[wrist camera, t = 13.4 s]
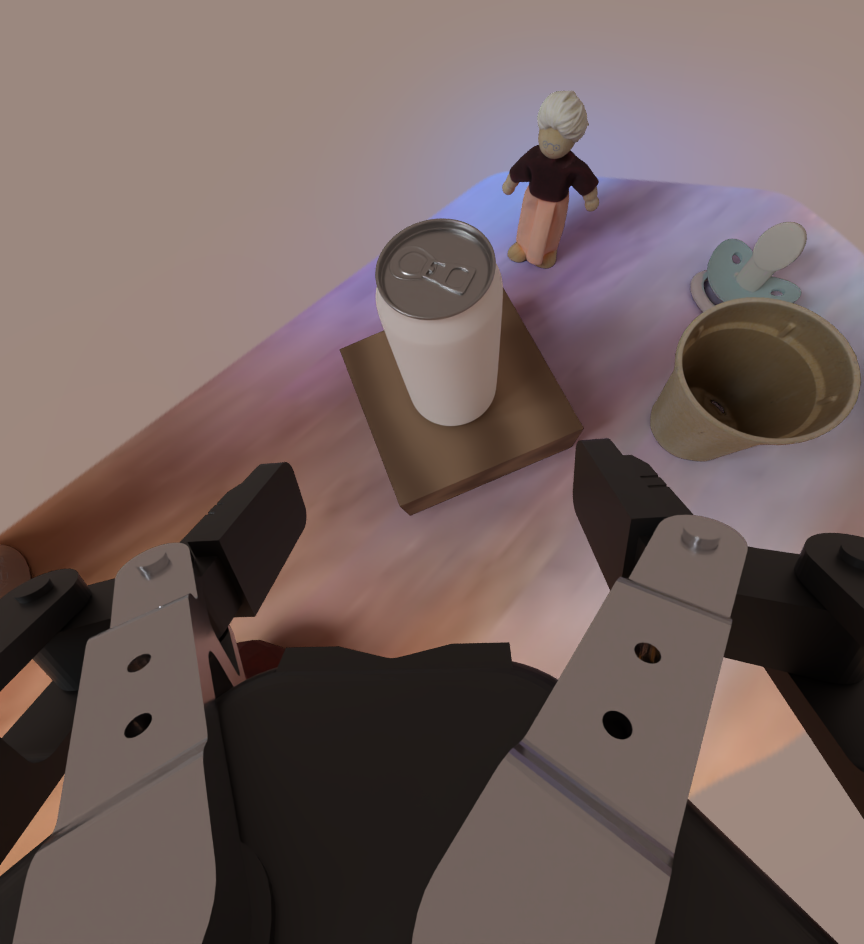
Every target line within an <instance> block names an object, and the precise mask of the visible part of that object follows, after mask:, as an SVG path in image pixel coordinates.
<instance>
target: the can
mask: <svg viewBox="0 0 864 944" xmlns="http://www.w3.org/2000/svg"><path fill="white" fill-rule="evenodd" d="M375 277H376V284H377V288H376V306H377V310H378V314H379V317H380V320H381V323H382V326H383V328H384V331H385V334H386V336H387V339H388V342H389V344H390V347H391V349H392V352H393V355H394V357H395V360H396V362H397V365H398V367H399V370H400V373H401V375H402V378H403V380H404V383H405V385H406V388H407V390H408V393H409V395H410V398H411V400H412V402H413V404H414V406H415V408H416V409H417V411H418V412H419V413H420V414H421V415H422V416H423V417H425V418H426V419H428V420H429V421H431V422H433V423H436V424H439V425H444V426H458V425H463V424H466V423H469V422H471V421H473V420H475V419H477V418H478V417H480V416H481V415H482V414H483V413H484V412H485V411H486V410H487V409H488V408H489V406H490V405H491V403H492V401H493V398H494V396H495V392H496V385H497V374H498V361H499V348H500V334H501V319H502V302H503V284H502V277H501V274H500V271H499V268H498V266H497V264H496V259H495V254H494V250H493V248H492V246H491V244H490V242H489V240H488V239H487V238H486V237H485V235H484V234H483V233H482V232H480V231H479V230H478V229H476V228H475V227H473V226H471V225H469V224H467V223H465V222H462V221H458V220H453V219H431V220H426V221H422V222H419V223H416V224H413V225H411V226H409V227H407V228H405V229H404V230H402V231H400V232H399V233H398V234H396V235H395V236H394V237H393V238H392V239H391V240H390V241H389V242H388V243H387V245H386V246H385V247H384V249H383V250H382V252H381V254H380V256H379V258H378V261H377V265H376V272H375Z"/></svg>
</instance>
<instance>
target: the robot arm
mask: <svg viewBox="0 0 864 944" xmlns="http://www.w3.org/2000/svg"><path fill="white" fill-rule="evenodd" d="M573 503H574V508H575V512H576V515H577V517H578V519H579V522H580V524H581V526H582V528H583V531H584V533H585V535H586V537H587V540H588V542H589V544H590V546H591V549H592V551H593V553H594V555H595V558H596V560H597V562H598V564H599V567H600V569H601V571H602V573H603V576H604V578H605V580H606V582H607V585H608V587H609V589H610V592H609V594H608V596H607V597H606V599H605V601H604V603H603V604H602V606H601V608H600V609H599V611H598V613H597V615H596V616H595V618H594V620H593V621H592V623H591V625H590V627H589V628H588V630H587V632H586V633H585V635H584V637H583V639H582V640H581V642H580V644H579V645H578V647H577V649H576V651H575V652H574V654H573V656H572V657H571V659H570V661H569V663H568V664H567V666H566V668H565V669H564V671H563V673H562V674H561V676H560V678H559V680H557V679H556V678H554V677H553V676H551V675H549V674H547V673H545V672H543V671H540V670H538V669H536V668H533V667H530V666H527V665H524V664H521V663H517V662H513V661H512V659H511V651H510V644H509V642H508V643H465V644H449V645H445V646H441V647H437V648H434V649H430V650H426V651H422V652H418V653H414V654H410V655H406V656H402V657H398V658H385V657H381V656H377V655H372V654H368V653H364V652H360V651H356V650H351V649H347V648H343V647H339V646H336V647H293V648H286V649H285V651H284V654H283V656H282V658H281V660H280V663H279V665H278V667H277V668H273V669H270V670H267V671H265V672H262V673H259V674H257V675H255V676H253V677H251V678H249V679H246V678H245V674H244V670H243V666H242V663H241V659H240V655H239V651H238V647H237V644H236V640H235V636H234V633H233V631H232V629H231V627H230V625H229V624H230V622H231V621H232V619H233V617H255V616H256V614H257V612H258V611H259V609H260V607H261V605H262V603H263V602H264V600H265V598H266V596H267V594H268V593H269V591H270V589H271V587H272V585H273V584H274V582H275V580H276V578H277V576H278V575H279V573H280V571H281V569H282V567H283V566H284V564H285V562H286V560H287V558H288V557H289V555H290V553H291V551H292V549H293V548H294V546H295V544H296V542H297V540H298V539H299V537H300V535H301V533H302V531H303V530H304V528H305V524H306V508H305V505H304V502H303V499H302V496H301V493H300V490H299V486H298V483H297V480H296V477H295V474H294V471H293V469H292V467H291V465H290V464H289V463H287V462H282V463H269V464H260V465H259V466H258V467H257V468H256V469H255V470H254V471H253V472H252V473H251V474H250V475H249V476H248V477H247V478H246V479H245V480H244V482H243V483H241V484H240V485H238V486H237V487H235V488H233V489H232V490H230V491H229V492H227V493H226V494H225V495H224V497H223V498H222V499H221V500H220V501H219V502H218V503H217V505H215V506H214V507H213V508H212V509H211V510H210V511H209V512H208V515H205V516H204V517H203V518H202V520H201V521H200V522H199V523H198V524H197V525H196V526H195V527H194V528H193V529H192V530H191V531H190V532H189V533H188V534H187V535H186V536H185V537H184V538H183V539H182V540H181V541H180V543H168V544H163V545H160V546H157V547H154V548H151V549H149V550H147V551H145V552H143V553H141V554H139V555H137V556H135V557H134V558H133V559H131V560H130V561H128V562H127V563H126V564H125V565H124V566H123V567H122V568H121V569H120V570H119V571H118V573H117V575H116V578H115V579H111V580H107V581H103V582H99V583H95V584H91V585H88V586H87V585H86V583H85V582H84V580H83V579H82V578H81V576H80V575H79V574H78V572H77V571H76V570H74V569H60V570H55V571H51V572H48V573H45V574H42V575H39V576H37V577H35V578H33V579H31V577H30V572H29V567H28V565H27V563H26V560H25V558H24V557H23V556H22V555H21V554H20V552H18V551H17V550H15V549H14V548H12V547H10V546H6V545H1V544H0V691H1V690H2V689H3V688H4V687H5V686H6V685H7V684H8V683H9V682H10V681H11V680H12V679H13V678H14V677H15V676H16V675H17V674H18V673H19V672H20V671H21V670H22V669H23V668H24V667H25V666H26V665H27V664H28V663H29V662H30V661H31V660H32V659H33V660H34V661H35V662H36V663H37V664H38V665H39V666H40V667H41V668H42V669H43V670H44V672H45V673H46V674H47V675H48V676H49V677H50V678H51V679H52V680H53V681H52V682H51V683H50V684H49V686H48V687H47V688H46V689H45V690H44V691H43V692H42V693H41V695H40V696H39V697H38V698H37V699H36V700H35V701H34V702H33V704H32V705H31V706H30V707H29V708H28V709H27V710H26V711H25V713H24V714H23V715H22V716H21V717H20V718H19V719H18V720H17V722H16V723H15V724H14V725H13V726H12V727H11V728H10V729H9V731H8V732H7V733H6V734H5V735H4V736H3V737H2V738H0V865H1V863H2V862H3V860H4V859H5V857H6V856H7V855H8V853H9V852H10V850H11V849H12V848H13V846H14V845H15V843H16V842H17V840H18V839H19V838H20V836H21V835H22V833H23V832H24V831H25V829H26V828H27V826H28V825H29V823H30V822H31V821H32V819H33V818H34V816H35V815H36V814H37V812H38V811H39V809H40V808H41V806H42V805H43V804H44V802H45V801H46V799H47V798H48V797H49V795H50V794H51V792H52V791H53V789H54V788H55V787H56V785H57V784H58V782H59V781H60V780H61V778H62V777H63V775H64V774H65V776H64V782H63V788H62V795H61V801H60V807H59V813H58V819H57V823H56V826H55V829H54V831H53V833H52V834H51V835H50V836H49V837H47V838H46V839H45V840H44V841H43V842H41V843H40V844H39V845H38V846H36V847H35V848H34V849H33V850H32V851H30V852H29V853H28V854H27V855H26V856H24V857H23V858H22V859H21V860H19V861H18V862H17V863H16V864H15V865H13V866H12V867H11V868H10V869H9V870H7V871H6V872H5V873H4V874H2V875H1V876H0V944H838V943H837V942H836V941H835V940H834V939H833V938H832V937H831V936H830V935H829V934H828V933H827V932H826V931H825V930H824V929H823V928H822V927H821V926H819V925H818V923H817V922H815V921H814V920H813V919H812V918H811V917H810V916H809V915H808V914H807V913H806V912H805V911H804V910H803V909H802V908H801V907H800V906H799V905H798V904H797V903H796V902H795V901H794V900H793V899H792V898H791V897H789V896H788V895H787V894H786V893H785V892H784V891H783V890H782V889H781V888H780V887H779V886H778V885H777V884H776V883H775V882H774V881H773V880H772V879H771V878H770V877H769V876H768V875H767V874H765V872H763V871H762V870H761V869H760V868H759V867H758V866H757V865H756V864H755V863H754V862H753V861H752V860H751V859H750V858H749V857H748V856H747V855H746V854H745V853H744V852H743V851H742V850H741V849H740V848H738V847H737V846H736V845H735V844H734V843H733V842H732V841H731V840H730V839H729V838H728V837H727V836H726V835H725V834H724V833H723V832H722V831H721V830H720V829H719V828H718V827H717V826H716V825H715V824H714V823H712V822H711V821H710V820H709V819H708V818H707V817H706V816H705V815H704V814H703V813H702V812H701V811H700V810H699V809H698V808H697V807H696V806H695V805H694V804H693V803H692V802H691V801H690V800H689V799H688V795H689V791H690V787H691V784H692V780H693V776H694V772H695V768H696V764H697V760H698V756H699V752H700V748H701V744H702V740H703V736H704V732H705V728H706V724H707V720H708V716H709V712H710V708H711V704H712V700H713V696H714V692H715V688H716V684H717V680H718V676H719V672H720V668H721V664H722V660H723V657H725V658H729V659H733V660H737V661H742V662H746V663H750V664H754V665H758V666H763V667H764V668H765V670H766V671H767V673H768V674H769V676H770V678H771V679H772V681H773V682H774V684H775V685H776V687H777V688H778V690H779V691H780V693H781V694H782V696H783V697H784V699H785V700H786V702H787V703H788V705H789V706H790V708H791V709H792V711H793V712H794V714H795V715H796V717H797V718H798V720H799V722H800V723H801V725H802V726H803V728H804V729H805V731H806V732H807V734H808V735H809V737H810V738H811V739H812V741H813V743H814V744H815V746H816V747H817V749H818V750H819V752H820V753H821V755H822V756H823V758H824V759H825V761H826V762H827V764H828V766H829V767H830V768H831V770H832V772H833V773H834V775H835V776H836V778H837V779H838V781H839V782H840V784H841V785H842V786H843V788H844V790H845V791H846V793H847V794H848V796H849V797H850V799H851V800H852V802H853V803H854V805H855V807H856V808H857V809H858V811H859V813H860V814H861V816H862V817H863V819H864V538H863V537H859V536H854V535H849V534H841V533H822V534H817V535H814V536H811V537H810V538H808V539H807V541H806V542H805V544H804V546H803V549H802V551H801V553H800V554H793V553H786V552H780V551H773V550H766V549H759V548H753V547H748V546H747V543H746V541H745V539H744V538H743V537H742V536H741V535H740V534H739V533H738V532H737V531H736V530H734V529H733V528H731V527H730V526H728V525H726V524H724V523H722V522H719V521H717V520H714V519H710V518H707V517H702V516H696V515H693V514H692V513H691V511H690V510H689V509H688V508H687V507H686V506H685V505H684V504H683V502H682V501H681V500H680V499H679V498H678V497H677V496H676V495H675V493H674V492H673V491H672V490H671V489H670V488H669V487H667V486H666V483H665V482H664V481H663V480H662V479H661V478H660V477H658V474H657V473H656V472H655V471H654V470H653V469H652V468H651V466H650V465H649V464H648V463H646V462H644V461H642V460H640V459H638V458H636V457H634V456H632V455H622V454H621V452H620V451H619V450H618V449H617V447H616V446H615V445H614V444H613V442H612V441H611V440H610V439H609V438H605V439H592V440H579V441H578V442H577V445H576V453H575V468H574V482H573Z"/></svg>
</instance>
